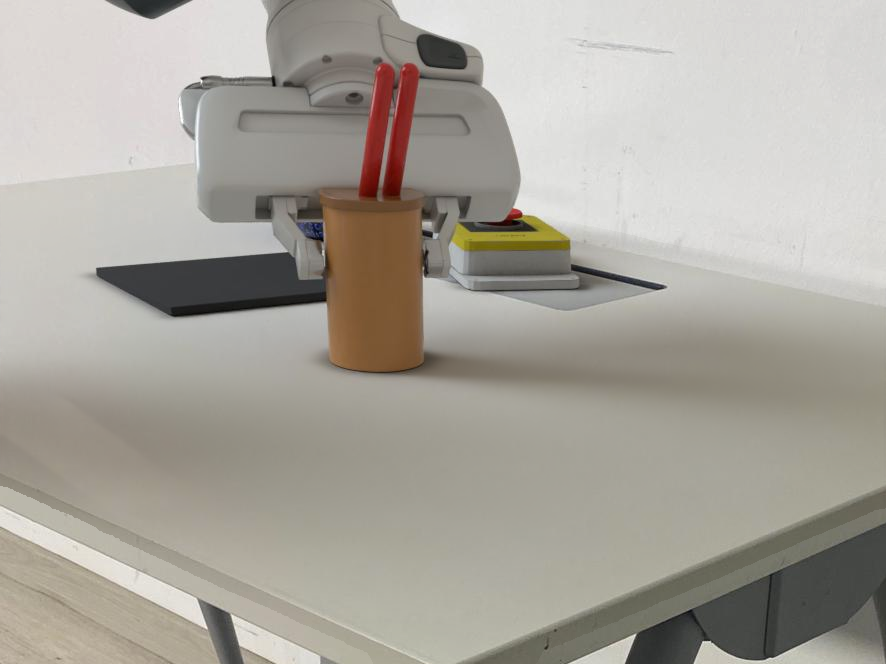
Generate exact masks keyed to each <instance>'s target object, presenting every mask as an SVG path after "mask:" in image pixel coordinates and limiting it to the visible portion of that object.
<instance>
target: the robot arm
mask: <svg viewBox="0 0 886 664" xmlns="http://www.w3.org/2000/svg"><path fill="white" fill-rule="evenodd" d="M104 1H105V2H107V3H108V4H111V5H112V6H114V7H117V8H119V9H121V10H123V11H126V12H128V13H130V14H133V15H136V16H138V17H142V18H145V19H148V20H156V19H158V18H159V17H162V16H163V15H166V14H168V13H170V12H172V11H174V10H176V9H178V8H180V7H182V6H184V5H187V4H188V3H191V2H192V1H193V0H104ZM260 1H261V2H260V3H261V4H262V6H263V8H264V10H265V12H266V13H267V22H266V27H265V44H266V51H267V52H266V53H267V56H268V58H267V59H268V63H269V64H268V65H269V71H270V75H271V76H256V75H255V76H251V75H249V76H238V77H237V76H236V77H228V76H227V77H225V76H222V75H215V74H213V75H204V76H200V77H199V81H196V82H192V83H190V84H188V85H187V86H185V87H184V88H182V90H181V91H180V93H179V96H178V100H177V106H178V113H179V119H180V125H181V127H182V129H183V131H184V132H185V134H186V135H187V136H188V137H189V138H190V139H191V140H192V141H194V143H193V145H194V146H193V147H194V149H193V151H194V152H193V154H194V155H193V156H194V157H193V159H194V160H193V163H194V164H193V165H194V185H195V187H194V188H195V200H196V207H197V209H198V210H199V211H200V212H201V213H202V214H203V215H204V216H205V217H206V218H208V219H209V221H211V222H213V223H221V224H224V223H228V224H229V223H239V224H240V223H242V224H243V223H271V229H272V233H273V236H274V237H275V239H276V240H277V241H278V242H279V243H280V244H281V245H282V246H283V248H284V249H285V250H286V252H289V253H290V254H291V255H292V256H293V257H295V259H296V265H297V272H298V277H299V280H312V279H323V277H324V275H323V273H324V270H325V255H323V245H322V239H308V238H307V236H306V235H304V234H303V233H302V231H301V230H300V229H299V228H298V226H297V225H296V222H323V212H322V204H321V203H320V202H319V198H318V191H319V190H320V189H322V188H359V186H360V179H361V171H362V164H363V157H364V150H365V143H366V136H367V129H368V121H369V114H370V107H371V100H372V93H373V86H374V79H375V71H376V68H377V66H378V65H379V64H381V63H388V64H390V65H391V66H392V67H393V68H394V71H395V80H394V86H393V93H392V100H391V106H390V113H389V120H388V126H387V133H386V140H385V146H384V153H383V160H382V166H381V173H380V180H379V186H378V188H383V182H384V175H385V168H386V162H387V155H388V149H389V142H390V136H391V129H392V122H393V116H394V109H395V103H396V96H397V90H398V83H399V76H400V70H401V68H402V66H403V65H404V64H406V63H413V64H415V65H416V66H417V67H418V69H419V72H420V76H419V82H418V89H417V95H416V101H415V107H414V113H413V119H412V126H411V132H410V138H409V144H408V150H407V156H406V163H405V169H404V175H403V181H402V187H401V188H412V189H415V190H419V191H421V192H423V193H424V194H425V206H423V207H422V223H431V227H432V233H433V232H434V233H437V234H439V235H438V237H437V239H433V238H428V239H424V241H423V242H422V253H423V278H425V279H448V278H449V275H450V274H449V272H450V268H451V258H450V253H449V245H450V243H451V240H452V238H453V236H454V234H455V230H456V226H457V223H458V222H501V221H503V220H505V219H506V217H507V216H508V215H509V213H510V212H511V210H512V209H513V208H515V205H516V202H517V200H518V196H519V192H520V189H521V181H522V177H521V176H522V175H521V174H522V173H521V169H520V163H519V158H518V155H517V151H516V147H515V144H514V140H513V137H512V133H511V129H510V127H509V125H508V121H507V119H506V116H505V113H504V111H503V109H502V107H501V104H500V103H499V101H498V100H497V99H496V97H495V96H494V95H493V94H492V92H491V91H490V90H488V89H487V88H485V87H483V84H484V83H483V82H484V71H485V68H484V66H485V65H484V59H483V55H482V52H480V50H479V49H477V48H476V47H475V46H473V45H471V44H469V43H466V42H461V41H459V40H456V39H451V38H449V37H445V36H442V35H439V34H437V33H434V32H430V31H428V30H425V29H423V28H420V27H418V26H416V25H413V24H411V23H410V22H407V21H404V20H403V19H401V17H400V14H399V11H398V10H397V8H396V6H395V5H394V3H393V0H260Z"/></svg>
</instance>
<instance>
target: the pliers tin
mask: <svg viewBox="0 0 886 664" xmlns="http://www.w3.org/2000/svg"><path fill="white" fill-rule="evenodd" d="M419 76H420V72H419V69H418V67H417V66H416V65H415V64H413V63H406V64H404V65H403V66H402V68H401V70H400V76H399V83H398V90H397V96H396V103H395V109H394V116H393V122H392V129H391V136H390V142H389V149H388V155H387V162H386V168H385V175H384V182H383V188H378V186H379V180H380V173H381V166H382V160H383V153H384V146H385V140H386V133H387V126H388V120H389V113H390V106H391V100H392V93H393V86H394V80H395V71H394V68H393V67H392V66H391V65H390V64H388V63H381V64H379V65H378V66H377V68H376V71H375V79H374V86H373V93H372V100H371V107H370V114H369V121H368V129H367V136H366V143H365V150H364V157H363V164H362V171H361V179H360V186H359V188H322V189H320V190H319V191H318V198H319V202H320V203H321V204H322V212H323V233H324V239H323V252H324V265H325V276H326V297H327V300H326V315H327V337H328V357H329V358H328V359H329V361H330V362H331V363H332V364H333V365H334V366H338V367H340V368H343V369H347V370H352V371H359V372H367V373H368V372H369V373H387V372H388V373H389V372H401V371H406V370H410V369H414V368H417V367H419V366H421V365H422V364H423V363H424V361H425V346H424V345H425V340H424V339H425V338H424V337H425V336H424V335H425V334H424V273H423V270H424V267H423V253H422V250H423V222H422V207H423V206H425V194H424V193H423V192H421V191H419V190H415V189H412V188H401V187H402V181H403V175H404V169H405V163H406V156H407V150H408V144H409V138H410V132H411V126H412V119H413V113H414V107H415V101H416V95H417V89H418V82H419Z"/></svg>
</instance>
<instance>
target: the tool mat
mask: <svg viewBox="0 0 886 664" xmlns="http://www.w3.org/2000/svg"><path fill="white" fill-rule="evenodd" d="M95 272H96V276H97V277H99V278H100V279H102V280H104V281H106V282H108V283H110V284H111V285H114V286H115V287H117V288H119V289H121V290H122V291H125V292H127V293H128V294H130V295H133V296H134V297H136V298H138V299H140V300H142V301H144V302H145V303H147V304H149V305H151V306H153V307H155V308H157V309H158V310H160V311H162V312H164V313H166V314H168V315H170V316H171V317H174V316H175V317H176V316H184V315H185V316H186V315H192V314H193V315H194V314H203V313H214V312H222V311H223V312H224V311H232V310H233V311H234V310H241V309H249V308H250V309H252V308H263V307H270V306H280V305H290V304H300V303H309V302H318V301H319V302H320V301H327V297H326V276H325V270H324V273H323V275H324V277H323V279H312V280H299V277H298V272H297V265H296V259H295V257H293V256H292V255H291V254H290V253H289V252H288V251H283V252H270V253H260V254H259V253H258V254H247V255H235V256H234V255H233V256H222V257H211V258H210V257H208V258H196V259H184V260H173V261H161V262H147V263H137V264H136V263H135V264H125V265H124V264H123V265H113V266H101V267H96V268H95Z"/></svg>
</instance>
